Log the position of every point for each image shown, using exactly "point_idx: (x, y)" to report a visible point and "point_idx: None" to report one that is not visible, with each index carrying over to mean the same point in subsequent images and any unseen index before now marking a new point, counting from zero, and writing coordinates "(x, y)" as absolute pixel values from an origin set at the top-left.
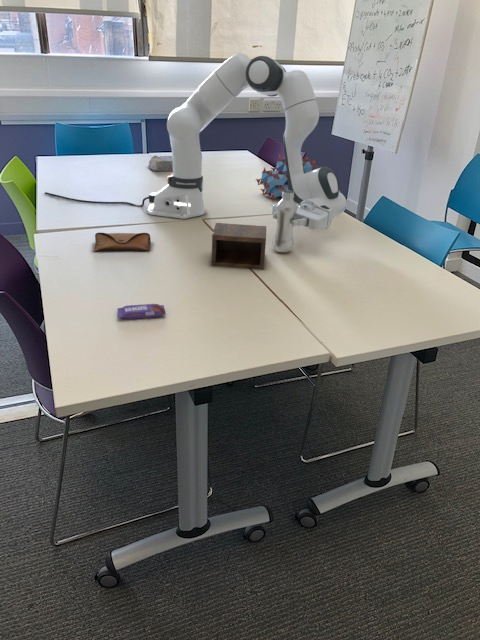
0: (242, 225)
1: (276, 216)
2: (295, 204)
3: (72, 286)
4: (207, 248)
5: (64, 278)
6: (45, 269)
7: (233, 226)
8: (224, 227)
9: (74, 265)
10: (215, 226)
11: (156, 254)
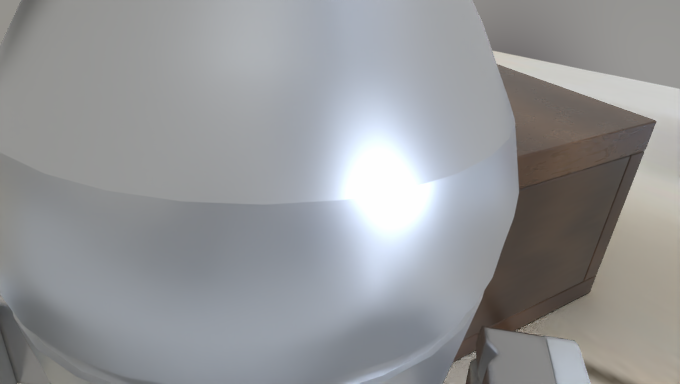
0: (517, 142)
1: (482, 366)
2: (8, 29)
3: (543, 72)
4: (671, 310)
5: (591, 80)
6: (660, 85)
7: (533, 120)
8: (545, 102)
9: (662, 102)
10: (587, 97)
11: (671, 186)
